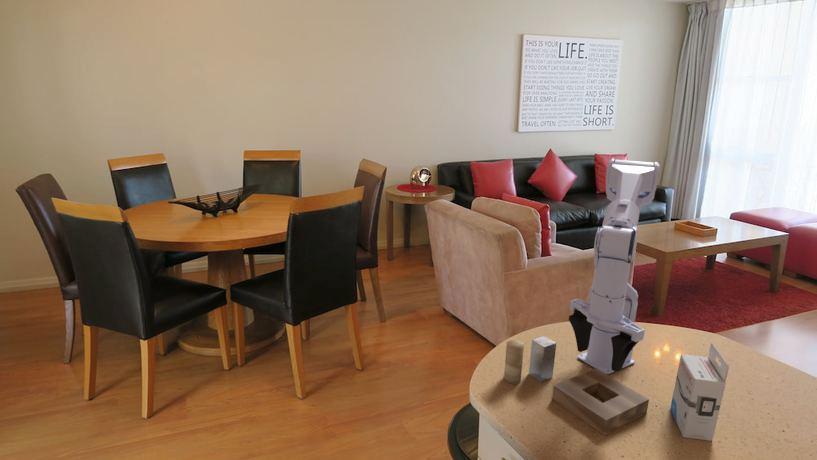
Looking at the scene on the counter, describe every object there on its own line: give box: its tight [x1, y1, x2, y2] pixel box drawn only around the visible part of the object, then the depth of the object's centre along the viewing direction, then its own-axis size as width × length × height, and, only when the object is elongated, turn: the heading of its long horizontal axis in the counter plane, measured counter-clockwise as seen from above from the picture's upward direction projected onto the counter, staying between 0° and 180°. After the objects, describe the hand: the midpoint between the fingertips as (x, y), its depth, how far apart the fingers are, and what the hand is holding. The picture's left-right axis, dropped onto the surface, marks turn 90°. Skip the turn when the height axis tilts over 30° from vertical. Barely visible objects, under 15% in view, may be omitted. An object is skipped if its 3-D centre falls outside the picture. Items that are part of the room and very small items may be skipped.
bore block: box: [551, 368, 650, 436], centre depth 97 cm, size 12×12×3 cm
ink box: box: [670, 342, 730, 442], centre depth 91 cm, size 9×5×15 cm, turn 168°
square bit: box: [528, 335, 557, 383], centre depth 106 cm, size 3×3×8 cm
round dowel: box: [503, 339, 525, 385], centre depth 105 cm, size 3×3×8 cm
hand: (599, 359), depth 96 cm, fingers open, 7 cm apart
